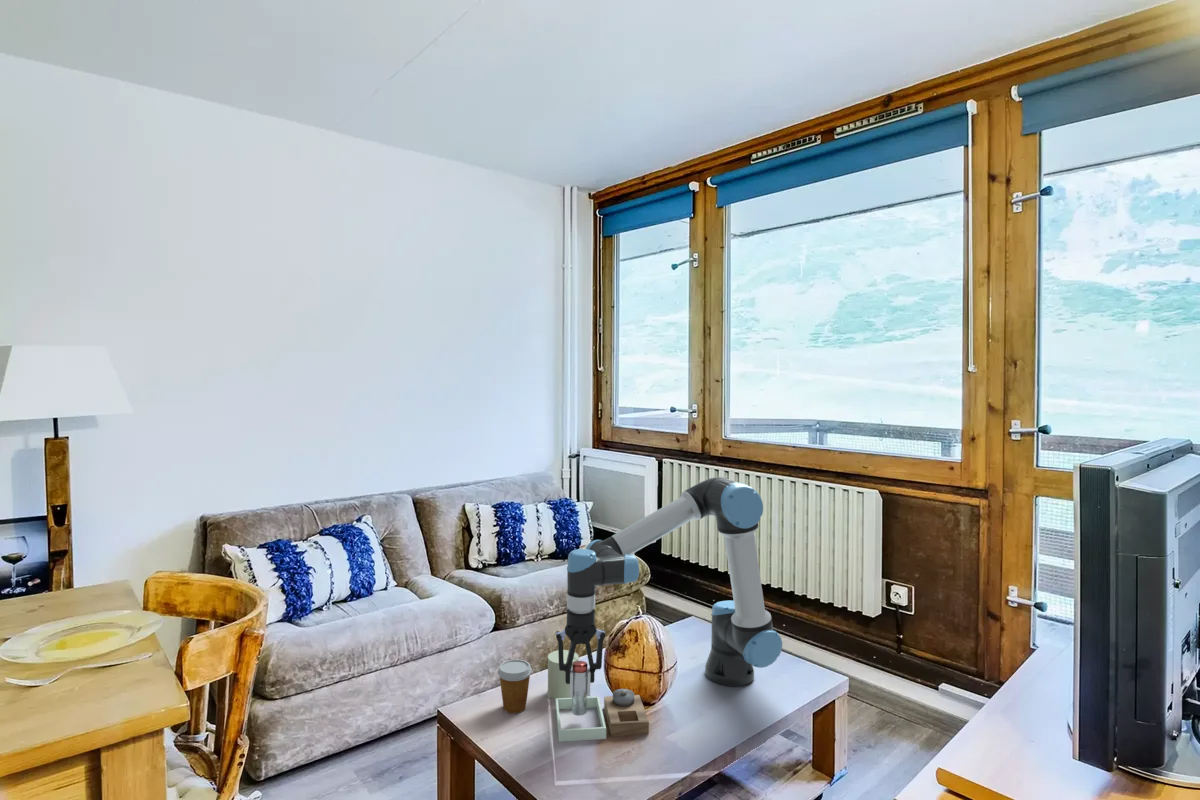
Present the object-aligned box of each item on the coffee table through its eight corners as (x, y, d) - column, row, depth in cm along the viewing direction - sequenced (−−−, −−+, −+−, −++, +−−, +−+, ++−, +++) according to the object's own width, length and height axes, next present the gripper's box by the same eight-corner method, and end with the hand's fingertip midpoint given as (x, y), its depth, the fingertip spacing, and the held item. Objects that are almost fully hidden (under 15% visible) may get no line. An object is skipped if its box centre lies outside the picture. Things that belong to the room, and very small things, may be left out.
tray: (555, 710, 181) (555, 698, 181) (598, 708, 183) (598, 696, 182) (558, 744, 165) (558, 730, 165) (606, 741, 167) (606, 728, 166)
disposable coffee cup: (529, 716, 178) (530, 674, 177) (495, 716, 178) (495, 674, 177) (533, 699, 187) (533, 658, 187) (500, 698, 187) (500, 658, 187)
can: (574, 704, 185) (574, 663, 184) (543, 700, 187) (543, 660, 186) (581, 688, 194) (582, 649, 193) (552, 685, 196) (552, 646, 195)
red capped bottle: (586, 707, 176) (586, 660, 175) (587, 715, 172) (588, 667, 171) (571, 707, 175) (572, 661, 175) (572, 715, 171) (573, 667, 171)
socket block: (648, 736, 169) (649, 710, 169) (610, 738, 168) (611, 712, 167) (639, 708, 183) (639, 684, 183) (604, 710, 182) (604, 686, 181)
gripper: (610, 602, 177) (609, 686, 178) (548, 604, 175) (547, 688, 176) (614, 613, 170) (612, 699, 171) (549, 614, 168) (548, 702, 169)
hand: (579, 694), depth 173 cm, fingers closed on red capped bottle, 4 cm apart
